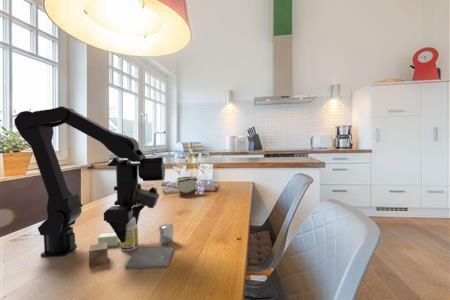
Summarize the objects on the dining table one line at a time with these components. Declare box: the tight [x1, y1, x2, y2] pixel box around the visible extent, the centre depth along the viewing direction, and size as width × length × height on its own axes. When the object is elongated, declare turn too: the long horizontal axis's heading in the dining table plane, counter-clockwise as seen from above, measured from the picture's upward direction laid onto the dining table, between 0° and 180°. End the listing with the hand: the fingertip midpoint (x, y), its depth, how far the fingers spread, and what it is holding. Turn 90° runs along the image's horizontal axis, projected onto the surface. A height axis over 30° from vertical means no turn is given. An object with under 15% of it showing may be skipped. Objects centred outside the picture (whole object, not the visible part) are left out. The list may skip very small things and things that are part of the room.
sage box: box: [97, 232, 120, 247], centre depth 76 cm, size 5×3×3 cm, turn 103°
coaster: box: [124, 246, 175, 270], centre depth 67 cm, size 10×10×1 cm
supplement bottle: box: [119, 217, 139, 252], centre depth 73 cm, size 5×5×8 cm
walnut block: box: [88, 243, 109, 268], centre depth 65 cm, size 4×4×4 cm
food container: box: [175, 176, 198, 199], centre depth 140 cm, size 12×6×10 cm, turn 130°
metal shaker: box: [158, 223, 174, 247], centre depth 77 cm, size 4×4×5 cm
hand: (128, 235), depth 73 cm, fingers open, 9 cm apart
